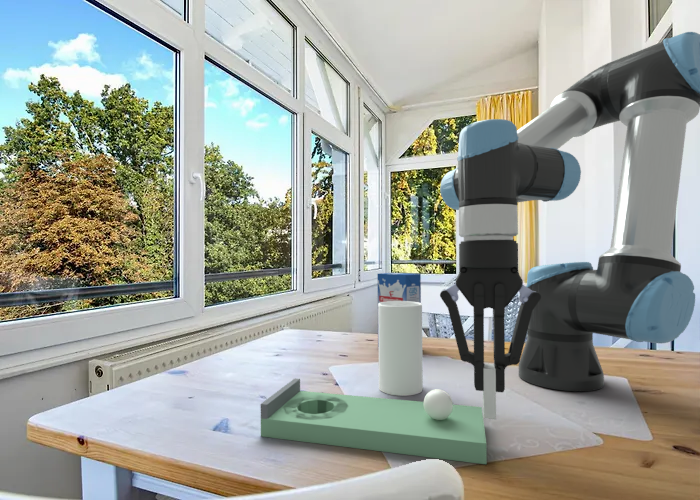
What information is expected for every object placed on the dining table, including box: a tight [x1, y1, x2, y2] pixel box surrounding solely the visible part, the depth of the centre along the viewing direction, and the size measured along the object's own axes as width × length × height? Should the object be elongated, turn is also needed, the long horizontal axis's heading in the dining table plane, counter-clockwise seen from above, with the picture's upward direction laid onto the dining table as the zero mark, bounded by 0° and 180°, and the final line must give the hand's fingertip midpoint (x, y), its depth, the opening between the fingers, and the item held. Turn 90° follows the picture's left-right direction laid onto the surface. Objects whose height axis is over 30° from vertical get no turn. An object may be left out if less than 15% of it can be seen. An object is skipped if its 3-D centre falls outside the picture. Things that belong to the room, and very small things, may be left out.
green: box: [260, 378, 488, 465], centre depth 59 cm, size 30×12×4 cm, turn 75°
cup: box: [377, 301, 424, 397], centre depth 77 cm, size 8×8×16 cm
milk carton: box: [376, 272, 422, 348], centre depth 109 cm, size 10×6×20 cm, turn 43°
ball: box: [423, 388, 454, 420], centre depth 56 cm, size 4×4×4 cm
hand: (489, 414), depth 55 cm, fingers closed
